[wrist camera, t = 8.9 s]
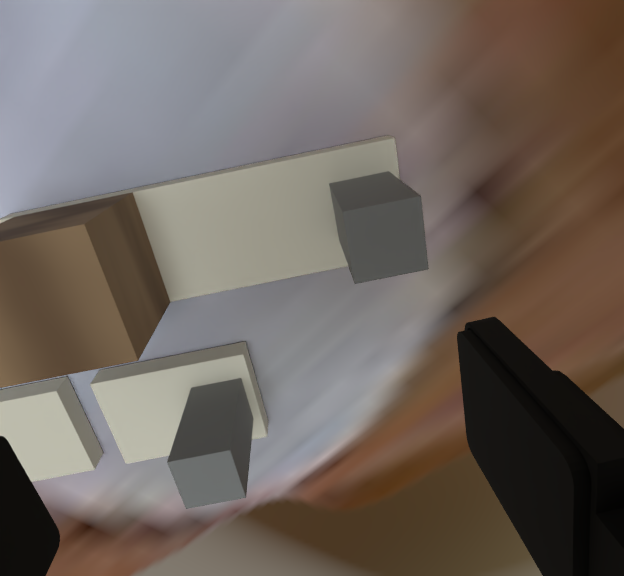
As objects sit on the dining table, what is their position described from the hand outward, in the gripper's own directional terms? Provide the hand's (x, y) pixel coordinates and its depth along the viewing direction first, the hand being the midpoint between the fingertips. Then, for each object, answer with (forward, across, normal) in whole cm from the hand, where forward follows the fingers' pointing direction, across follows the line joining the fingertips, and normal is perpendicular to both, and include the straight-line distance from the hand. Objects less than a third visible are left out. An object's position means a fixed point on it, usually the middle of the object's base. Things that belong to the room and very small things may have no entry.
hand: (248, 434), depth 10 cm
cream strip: (+17, +2, 0) cm, 17 cm away
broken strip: (+18, +13, +10) cm, 24 cm away
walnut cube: (+16, +8, 0) cm, 18 cm away
